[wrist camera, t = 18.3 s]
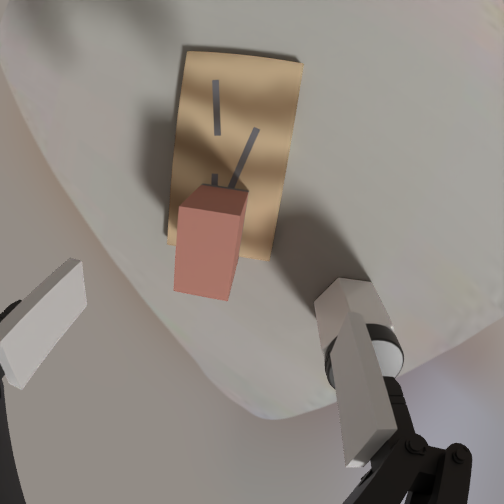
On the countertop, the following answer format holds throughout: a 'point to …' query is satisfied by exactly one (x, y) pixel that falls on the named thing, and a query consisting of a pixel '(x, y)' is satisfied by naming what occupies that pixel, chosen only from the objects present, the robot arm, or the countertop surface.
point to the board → (236, 137)
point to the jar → (375, 316)
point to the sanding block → (209, 240)
